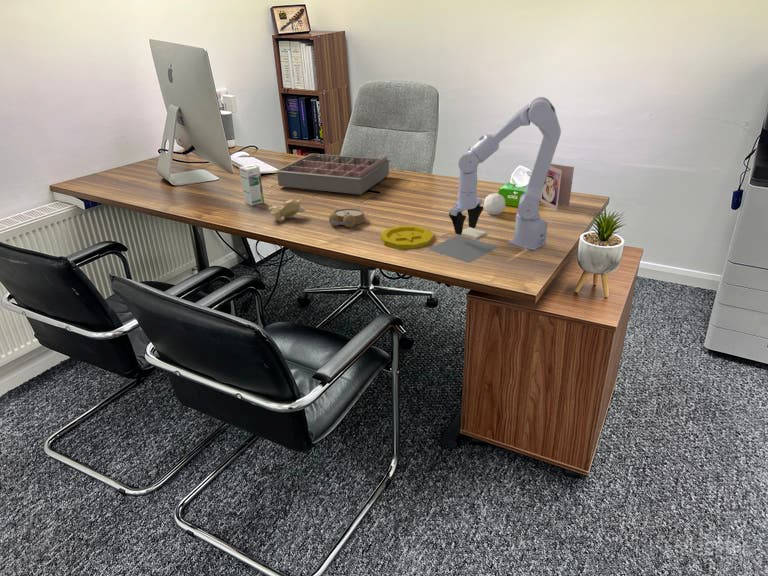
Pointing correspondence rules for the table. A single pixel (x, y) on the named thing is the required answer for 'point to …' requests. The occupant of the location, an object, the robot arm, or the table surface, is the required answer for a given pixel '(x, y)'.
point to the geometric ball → (494, 204)
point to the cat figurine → (286, 209)
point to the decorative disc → (406, 237)
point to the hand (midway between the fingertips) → (465, 230)
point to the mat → (463, 248)
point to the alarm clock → (346, 217)
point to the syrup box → (251, 184)
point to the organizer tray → (334, 173)
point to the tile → (473, 233)
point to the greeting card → (557, 186)
